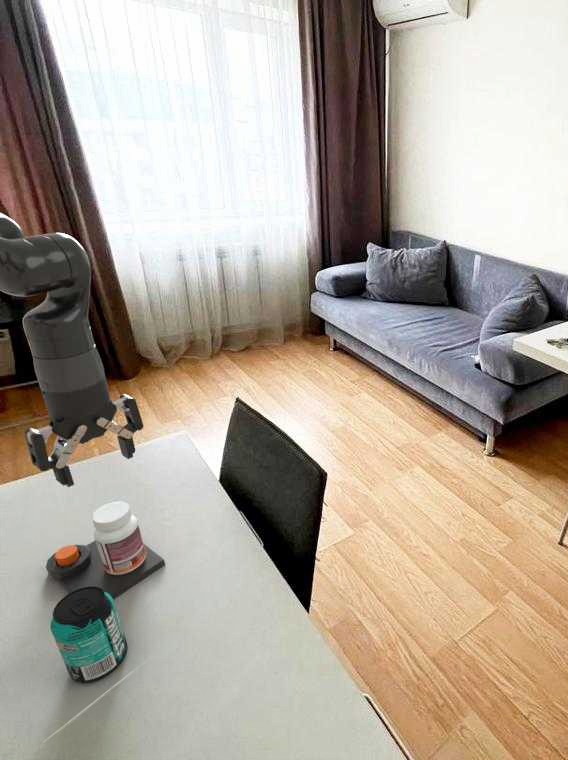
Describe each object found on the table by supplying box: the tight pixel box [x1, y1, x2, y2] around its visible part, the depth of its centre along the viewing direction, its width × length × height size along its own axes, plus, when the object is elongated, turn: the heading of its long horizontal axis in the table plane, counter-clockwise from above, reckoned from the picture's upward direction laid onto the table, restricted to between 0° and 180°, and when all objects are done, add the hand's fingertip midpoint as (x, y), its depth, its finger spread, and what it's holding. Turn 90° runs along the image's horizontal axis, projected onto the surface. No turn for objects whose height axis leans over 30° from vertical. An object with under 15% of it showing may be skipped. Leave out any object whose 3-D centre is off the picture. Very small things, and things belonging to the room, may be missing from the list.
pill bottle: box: [91, 501, 146, 575], centre depth 83 cm, size 6×6×11 cm
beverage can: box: [49, 586, 129, 684], centre depth 69 cm, size 7×7×12 cm
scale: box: [45, 540, 166, 601], centre depth 85 cm, size 14×12×3 cm
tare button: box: [55, 544, 79, 566], centre depth 83 cm, size 3×3×2 cm
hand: (99, 469), depth 77 cm, fingers open, 8 cm apart
